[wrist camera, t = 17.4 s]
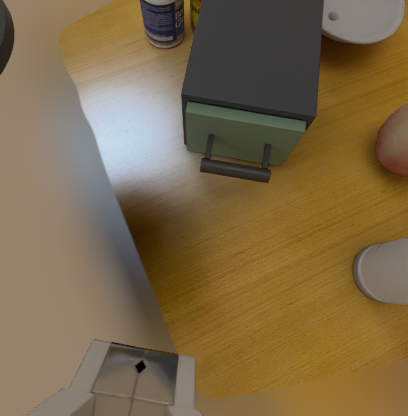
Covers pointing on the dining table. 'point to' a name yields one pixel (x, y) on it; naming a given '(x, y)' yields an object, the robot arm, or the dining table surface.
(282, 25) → the cabinet
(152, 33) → the pill bottle
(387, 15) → the dish
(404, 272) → the travel mug
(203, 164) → the drawer
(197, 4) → the supplement bottle
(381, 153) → the fruit
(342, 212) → the dining table surface
